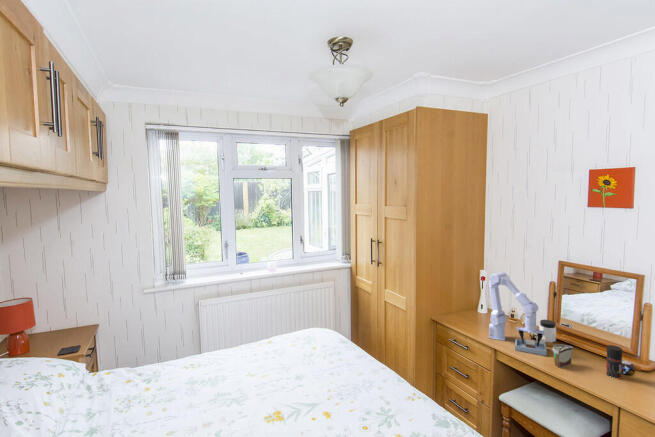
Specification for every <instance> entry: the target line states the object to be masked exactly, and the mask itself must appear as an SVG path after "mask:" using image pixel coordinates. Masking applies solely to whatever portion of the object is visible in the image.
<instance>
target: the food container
mask: <svg viewBox="0 0 655 437" xmlns="http://www.w3.org/2000/svg"><path fill="white" fill-rule="evenodd" d="M551 351H552V352H553V356H554V365H555V367H557V368H559V369H561V368H565V367H568V366H570V365H572V360H573V359H572V357H573V351H574V347H573V346H571V345H567V344H562V343H561V344H559V343H558V344H554V345H553V347H552V350H551Z"/></svg>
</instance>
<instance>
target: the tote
mask: <svg viewBox="0 0 655 437" xmlns="http://www.w3.org/2000/svg"><path fill="white" fill-rule="evenodd" d="M514 342H515V344H514V346H515V348H514V350H515V351H516V352H521V353H527V354H532V355H536V356H537V355H538V356H544V357H547V345H546V343H545V344H544V343H539V346H537V341H535V349H534V348H528V347H526V339H524V344H523V343H522V339H521V338H520V339H519V338H515V341H514Z"/></svg>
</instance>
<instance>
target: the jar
mask: <svg viewBox="0 0 655 437" xmlns="http://www.w3.org/2000/svg"><path fill="white" fill-rule="evenodd" d="M539 322H540V323H539V329H538V330H541V331H545V335H543V337H545V343H554V342H556V341H557V327H556V322H555V321H554V320H550V319H541V320H540V321H539Z"/></svg>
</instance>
